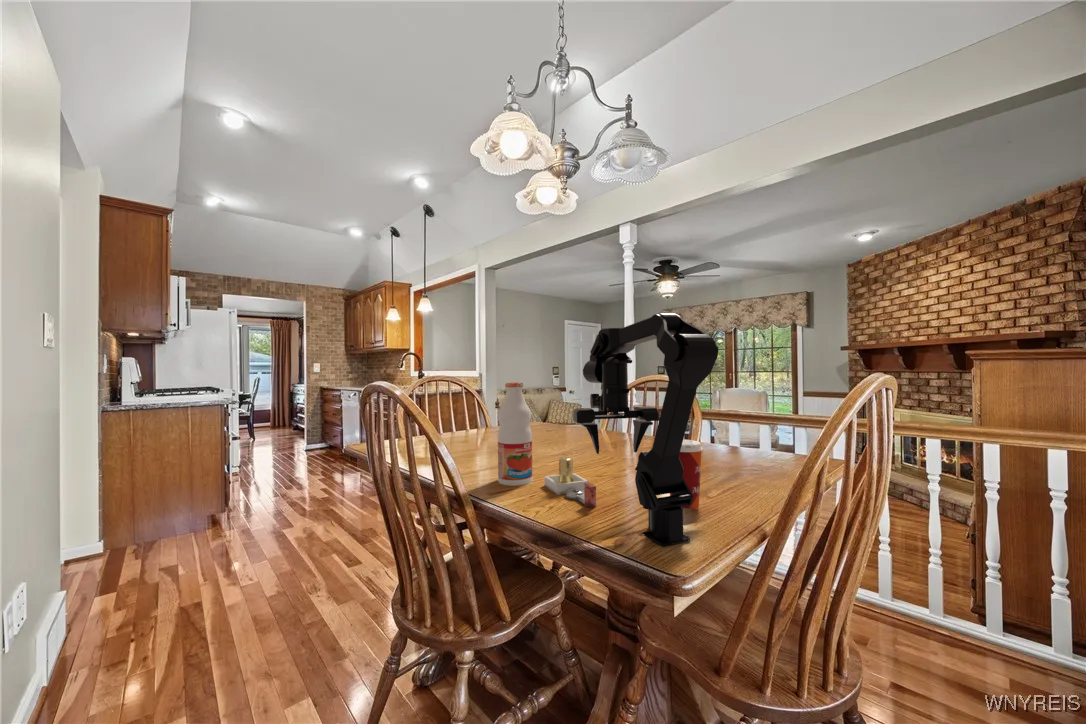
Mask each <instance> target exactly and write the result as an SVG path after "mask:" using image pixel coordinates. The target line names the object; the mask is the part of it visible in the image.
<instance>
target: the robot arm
mask: <svg viewBox="0 0 1086 724" xmlns="http://www.w3.org/2000/svg"><path fill="white" fill-rule="evenodd" d="M653 340H656V347H657V348H658V349H659V350H660V352H661V354H663V355H664V357H663V358H664V359H663V367H664V370H665V372H666V375H667V378H668V383H667V387H666V391H665V395H664V399H663V403H662V407H661V411H659V409H658V408H657V407H654V406H649V405H648V406H635V409H630V406H629V394H630V388H629V384H628V383H629V382H628V380H629V378H628V377H629V376H628V364H632V363H633V359H632V358H631V357H630V356H628V353H630V352H631V351H633V350H635V348H636V346H637V345H639V344H643V343H646V342H649V341H653ZM718 356H719V346H718V345H717V343H716V341H715V339H714V338H713V337H712V336H711V335H709V334H706V333H705V332H704V331H703V330H702V329H700V328H698V327H696V326H695V325H692V324H691V323H689V322H687V321H686V320H685V319H683V318H682V316H680V315H679V314H676V313H671V312H669V313H667V312H666V313H664V312H663V313H661V312H659V313H655V314H652V316H650V317H648V318H645V319H643V320H640V321H637V322H634V323H632V324H629V325H626V326H624V327H611V328H610V327H608V328H606V327H605V328H601V329H599V331H598V333H597V335H596V337H595V340H594V342H593V345H592V348H591V350H590V355H589V360H588V361H587V362H585V364H584V366H583V369H582V374H583V377H584V379H585V380H586V382H589V383H593V384H601V395H600V394H599V393H590V395H589V397H590V399H589V400H590V401H589V403H590V407H583V408H581V407H578V408H575V409H574V410H573V411H572V421H573V422H574V423H576V424H580V425H581V426H582V427H583V428H586V430H587V432H588V434H589V436H590V439H591V442H592V444H593V445H592V446H593V447H594V450H595V454H597V455H598V454H600V441H599V440H600V439H599V428H598V423H596V422H595V421H596V420H613V419H617V420H618V419H632V423H633V438H632V439H633V440H632V441H633V443H632V446H633V448H632V449H633V452H634V453H637V452H638V450H639V448H640V444H641V443H642V440H643V438H644V435H645V434H646V433H647V431H648V429H649V426H653V424H654V422H658V424H657V427H656V431H655V435H654V440H653V444H652V447H651V449H650V450H647V451H640V452H639V454H638V459H637V464H636V467H635V468H634V470H635V477H634V478H635V479H634V481H635V482H634V483H635V486H636V491H637V496H638V500H639V501H638V502H639V505H641V506H642V508H643V509H644V510H648V528H649V530H648V531H647V530H646V531H643V532H642V535H644V536H645V537H647V538H649V539H650V540H651V541H653V542H654V543H656V544H658V545H659V546H662V547H665V546H671V545H676V544H681V543H685V542H690V541H691V537H690V536H689V535H686V534H685V533H684V508H682V507H681V506H687V505H688V506H689V505H691V504H692V501H693V494H692V493H691V491H690V489H689V487H688V486H687V484H686V482H685V480H684V478H683V471H684V469H683V466H682V463H681V461H680V458H679V453H680V450H681V446H682V442H683V439H684V440H685V434H686V431H687V427H688V423H689V419H690V416H691V412H692V408H693V405H694V401H695V397H696V394H697V390H698V387H699V386H700V385H701V384H702V383H703V381H704V380H705V379H706V378H708V376H709V375H711V374H712V373H711V372H712V371H713V368H714V366H715V364H716V361H717V360H718ZM595 409H598V410H595ZM670 493H672V496H670V495H668V494H670ZM661 495H662V496H661ZM663 495H668V496H663ZM657 496H661V497H657Z"/></svg>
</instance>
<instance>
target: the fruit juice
mask: <svg viewBox="0 0 1086 724" xmlns="http://www.w3.org/2000/svg"><path fill="white" fill-rule="evenodd" d="M504 386H505V390H506V392H505V396H504V399H503V403H502V405H501V407H500V408H499V410H498V413H497V419H498V423H499V429H498V430H497V431H498V432H497V467H498V468H497V473H498V474H497V475H498V477H497V480H498V484H500V485H503V486H515V487H516V486H525V485H528V484H530V483H532V482H533V480H534V479H533V435H532V434H533V433H532V429H531V425H530V423H531V419H532V412H531V409H530V407H529V406H528V404H527V402H526V400H525V396H524V392H523V389H524V382H505V385H504Z"/></svg>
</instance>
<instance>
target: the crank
mask: <svg viewBox="0 0 1086 724" xmlns="http://www.w3.org/2000/svg"><path fill="white" fill-rule="evenodd" d="M584 486H585V488H584V489H579V488H572V489H568V490H566V494H565V498H566V499H570V500H575V501H579V502H580V503H582V504H583V505H584V508H588V509H594V508H596V507H597V486H596V485H594V484H592V483H591V482H589V481H588V482H587V483H584Z"/></svg>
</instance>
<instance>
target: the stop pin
mask: <svg viewBox="0 0 1086 724" xmlns="http://www.w3.org/2000/svg"><path fill="white" fill-rule="evenodd" d="M573 473H574V458H573V457H569V456H563V457H559V458H558V475H559V484H560V483H568V482H573Z"/></svg>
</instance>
